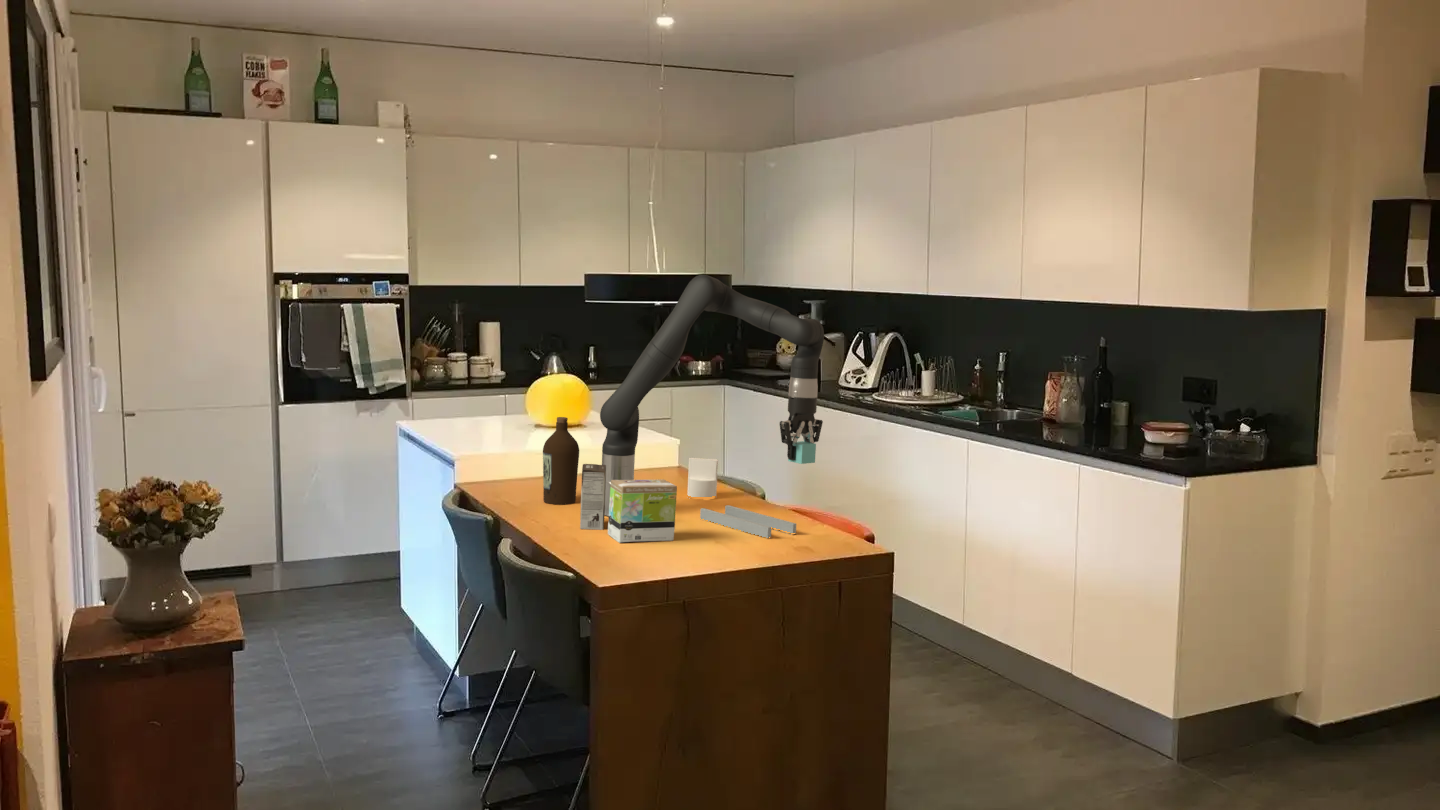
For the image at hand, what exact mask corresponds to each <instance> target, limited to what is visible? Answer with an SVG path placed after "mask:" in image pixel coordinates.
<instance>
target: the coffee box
mask: <svg viewBox="0 0 1440 810" xmlns="http://www.w3.org/2000/svg"><path fill="white" fill-rule="evenodd" d="M581 469H582V470H581V487H580V517H579V518H580V525H579V526H580V527H579V529H580V530H596V531H597V530H600V531H601V530H602V531H603V530H604V526H605V515H604V514H605V489H606V465H602V464H596V463H583V464H582V467H581Z"/></svg>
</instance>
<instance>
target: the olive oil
mask: <svg viewBox="0 0 1440 810" xmlns="http://www.w3.org/2000/svg"><path fill="white" fill-rule="evenodd" d="M555 423H556V425H555V431H553V433H552V434H550V436H549V437H548V438H547V439H545V442H544V445H543V447H542V469H543V471H542V473H543V477H542V481H543V484H542V485H543V486H542V487H543V503H546V504H548V505H549V504H550V505H562V506H565V505H572V504H575V503H576V500H577V485H578V483H577V482H578V471H579V461H580V460H579V458H580V447H579V443H578V441H577V440H576V439H575V438H574V437H573V435H572V434H571V433H570V432H569V429H568V428H569V422H568V417H565V416H559V417H558V416H557V417H556V422H555Z"/></svg>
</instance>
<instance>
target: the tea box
mask: <svg viewBox="0 0 1440 810" xmlns="http://www.w3.org/2000/svg"><path fill="white" fill-rule="evenodd" d="M677 492H678V487H677V485H675V484H673V483H671V482H670V481H667V480H666V479H664V478H663V479H661V478H660V479H659V478H658V479H634V480H611V486H610V502H609V516H608V521H607V522H608V523H607V535H608V536H609V537H610V538H612V539H614V541H616V542H617V543H619V544H620V543H629V542H631V543H632V542H634V543H635V542H672V541H674V539H675V529H676V527H675V526H676V508H677Z"/></svg>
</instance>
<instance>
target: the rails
mask: <svg viewBox="0 0 1440 810" xmlns="http://www.w3.org/2000/svg"><path fill="white" fill-rule="evenodd" d="M724 507H725V508H724V512H723V513H722V512H719V511H714V510H712V509H708V508H705V507H704V508H700V510H699V511H700V513H699V514H700V515H699V519H700V518H701V519H700V520H702V519H704V520H703V521H705V520H708V521H707V522H709V521H711V522H710V523H712V522H714V523H713V524H715V523H718V524H717V525H719V524H721V525H720V526H722V525H724V526H723V527H726V526H728V527H727V528H729V527H731V528H730V529H732V528H734V529H733V530H736V529H738V530H737V531H739V530H741V531H740V532H743V531H744V532H743V533H746V532H748V533H747V534H749V533H751V534H750V535H753V534H755V535H754V536H756V535H759V536H758V537H760V536H762V537H761V538H763V537H766V538H769V537H771V538H772V529H771V527H772V528H776V529H780V530H783V531H787V532H790V533H796V534H797V523H796V522H791V521H789V520H785V519H780V518H777V517H774V516H770V515H766V514H762V513H759V512H755V511H752V510H748V509H745V508H741V507H736V506H733V505H729V504H728V505H725V506H724ZM766 538H765V539H766Z"/></svg>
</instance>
